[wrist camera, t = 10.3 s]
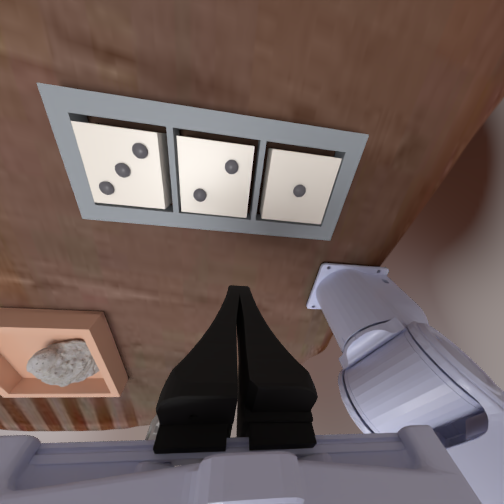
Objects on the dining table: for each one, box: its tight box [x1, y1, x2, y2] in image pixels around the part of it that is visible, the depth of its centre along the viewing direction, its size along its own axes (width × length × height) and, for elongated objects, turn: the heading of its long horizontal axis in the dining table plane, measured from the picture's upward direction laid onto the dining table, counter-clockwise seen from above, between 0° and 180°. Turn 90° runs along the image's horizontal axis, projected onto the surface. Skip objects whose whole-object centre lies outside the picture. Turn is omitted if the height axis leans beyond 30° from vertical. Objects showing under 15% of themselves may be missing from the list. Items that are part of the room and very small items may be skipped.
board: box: [37, 83, 369, 241], centre depth 18 cm, size 25×10×2 cm, turn 83°
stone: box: [26, 340, 100, 387], centre depth 30 cm, size 10×5×10 cm
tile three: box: [71, 121, 173, 209], centre depth 17 cm, size 6×6×3 cm
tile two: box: [177, 136, 255, 218], centre depth 17 cm, size 6×6×3 cm
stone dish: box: [0, 307, 129, 398], centre depth 29 cm, size 18×18×3 cm
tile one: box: [259, 148, 342, 224], centre depth 18 cm, size 6×6×3 cm
